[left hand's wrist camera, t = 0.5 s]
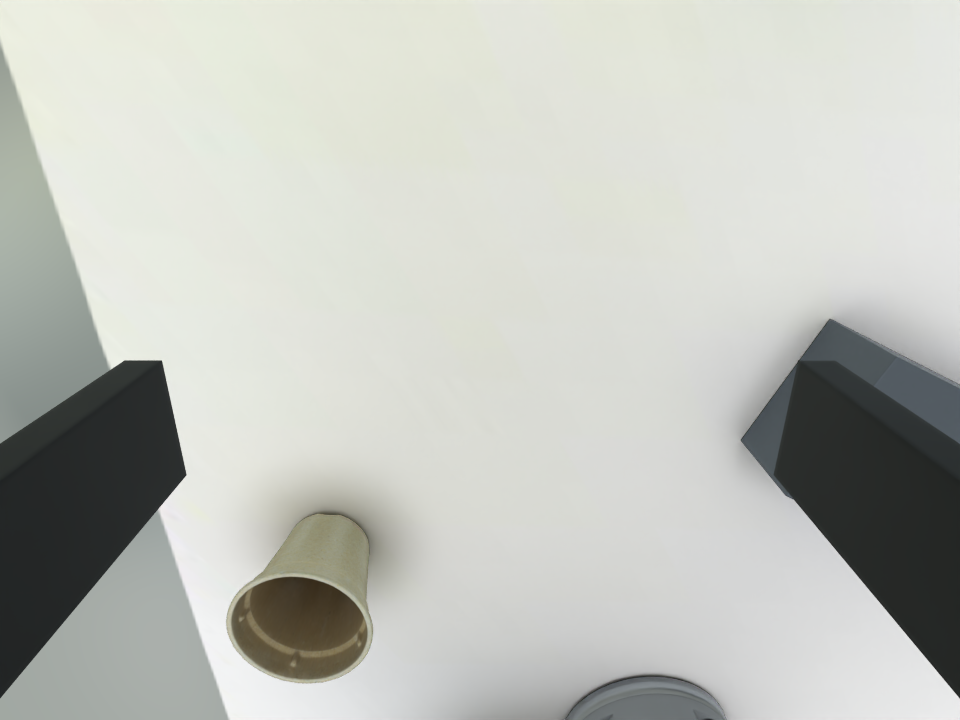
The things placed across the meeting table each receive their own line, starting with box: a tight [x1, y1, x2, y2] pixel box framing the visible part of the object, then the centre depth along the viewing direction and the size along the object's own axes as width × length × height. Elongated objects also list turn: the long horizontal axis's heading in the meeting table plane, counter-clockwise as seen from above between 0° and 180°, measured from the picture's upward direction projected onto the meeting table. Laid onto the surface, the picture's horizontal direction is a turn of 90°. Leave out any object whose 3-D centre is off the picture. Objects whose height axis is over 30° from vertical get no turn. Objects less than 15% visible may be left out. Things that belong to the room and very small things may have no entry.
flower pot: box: [226, 514, 373, 683], centre depth 42 cm, size 9×9×9 cm
